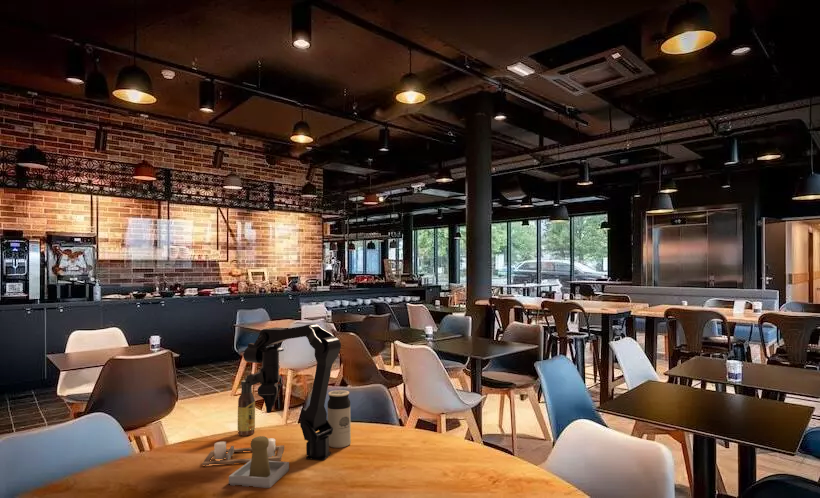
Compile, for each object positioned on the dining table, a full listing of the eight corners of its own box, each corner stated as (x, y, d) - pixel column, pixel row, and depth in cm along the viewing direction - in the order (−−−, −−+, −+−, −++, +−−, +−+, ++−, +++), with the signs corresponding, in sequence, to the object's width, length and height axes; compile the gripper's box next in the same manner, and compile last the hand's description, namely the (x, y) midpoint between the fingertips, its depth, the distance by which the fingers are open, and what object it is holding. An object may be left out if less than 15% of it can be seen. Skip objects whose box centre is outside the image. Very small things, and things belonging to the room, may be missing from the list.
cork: (264, 480, 141) (264, 441, 142) (245, 478, 143) (245, 440, 143) (274, 471, 147) (274, 434, 148) (255, 470, 148) (255, 433, 149)
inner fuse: (275, 453, 165) (275, 437, 165) (274, 456, 161) (274, 441, 161) (264, 453, 164) (264, 438, 164) (263, 457, 161) (263, 442, 161)
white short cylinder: (227, 456, 162) (227, 441, 163) (224, 460, 159) (224, 444, 159) (215, 457, 162) (215, 441, 162) (213, 461, 158) (213, 445, 158)
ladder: (284, 448, 169) (284, 440, 169) (280, 460, 158) (280, 452, 158) (211, 453, 165) (211, 445, 166) (202, 466, 154) (202, 458, 154)
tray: (289, 470, 150) (289, 461, 150) (269, 487, 137) (269, 478, 138) (251, 467, 152) (251, 459, 152) (228, 485, 140) (228, 476, 140)
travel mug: (325, 442, 174) (324, 391, 175) (346, 439, 177) (346, 388, 178) (331, 449, 167) (330, 396, 168) (353, 446, 170) (353, 393, 171)
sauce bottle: (251, 436, 182) (251, 382, 183) (234, 436, 182) (235, 382, 183) (257, 431, 189) (257, 378, 190) (241, 431, 189) (241, 379, 190)
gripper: (251, 360, 180) (251, 403, 179) (241, 370, 162) (241, 418, 161) (282, 359, 182) (282, 401, 181) (276, 368, 163) (276, 416, 162)
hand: (270, 409), depth 171 cm, fingers open, 9 cm apart
